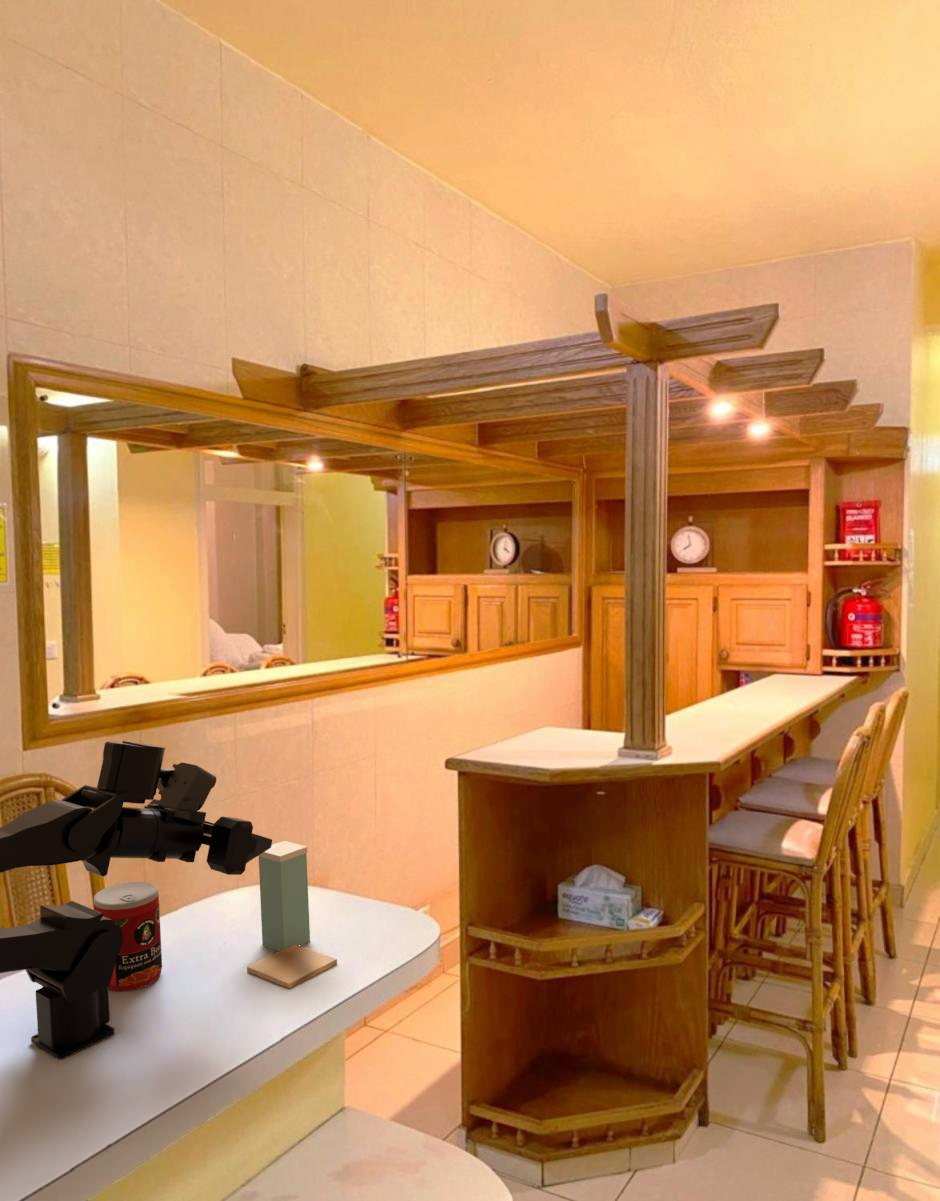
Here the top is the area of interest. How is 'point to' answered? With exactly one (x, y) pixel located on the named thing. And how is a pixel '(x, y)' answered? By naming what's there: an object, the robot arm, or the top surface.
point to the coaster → (291, 965)
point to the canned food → (134, 932)
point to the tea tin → (284, 895)
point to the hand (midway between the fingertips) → (248, 837)
